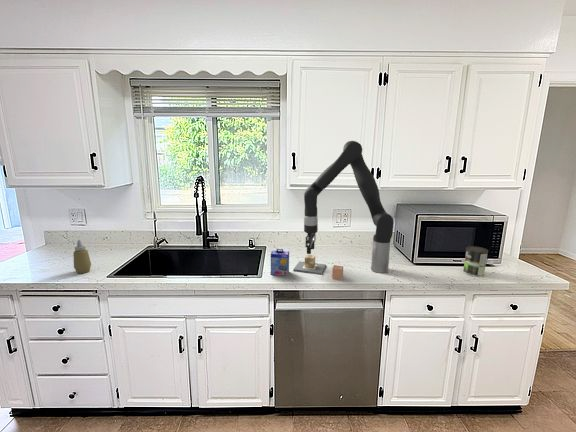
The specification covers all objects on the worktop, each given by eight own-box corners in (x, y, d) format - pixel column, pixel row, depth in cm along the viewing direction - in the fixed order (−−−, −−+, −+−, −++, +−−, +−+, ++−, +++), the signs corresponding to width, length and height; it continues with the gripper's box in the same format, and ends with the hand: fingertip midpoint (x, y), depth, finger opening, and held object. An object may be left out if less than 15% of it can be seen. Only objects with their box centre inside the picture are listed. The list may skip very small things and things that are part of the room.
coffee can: (467, 276, 169) (470, 251, 166) (460, 269, 179) (463, 245, 176) (487, 277, 167) (491, 252, 164) (479, 270, 177) (483, 246, 174)
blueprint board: (325, 266, 182) (325, 264, 182) (321, 274, 170) (321, 272, 170) (299, 262, 187) (299, 260, 186) (293, 270, 174) (293, 268, 174)
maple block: (315, 265, 179) (315, 255, 178) (313, 268, 175) (313, 258, 173) (306, 264, 181) (306, 254, 180) (304, 267, 176) (304, 257, 175)
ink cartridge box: (270, 275, 169) (270, 249, 166) (271, 271, 174) (271, 246, 171) (288, 275, 168) (288, 250, 165) (289, 271, 173) (289, 246, 170)
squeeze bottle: (93, 268, 176) (89, 237, 172) (90, 273, 169) (85, 241, 165) (76, 270, 174) (72, 239, 170) (72, 275, 166) (67, 243, 162)
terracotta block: (342, 276, 167) (343, 266, 166) (341, 280, 163) (342, 269, 161) (333, 275, 169) (334, 265, 168) (332, 279, 164) (332, 268, 163)
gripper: (314, 227, 165) (314, 256, 168) (320, 221, 178) (319, 248, 182) (300, 226, 167) (300, 254, 171) (307, 220, 180) (307, 247, 184)
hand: (310, 251), depth 176 cm, fingers open, 8 cm apart
